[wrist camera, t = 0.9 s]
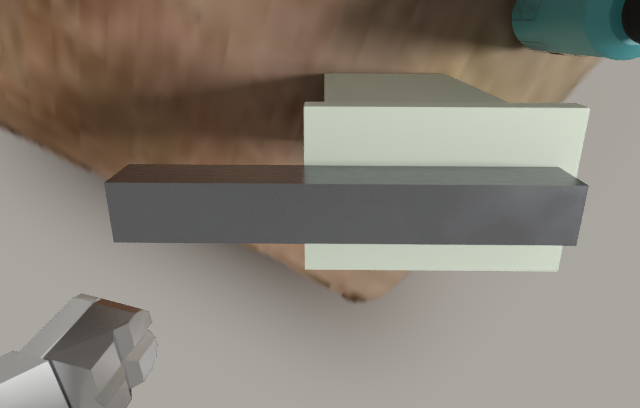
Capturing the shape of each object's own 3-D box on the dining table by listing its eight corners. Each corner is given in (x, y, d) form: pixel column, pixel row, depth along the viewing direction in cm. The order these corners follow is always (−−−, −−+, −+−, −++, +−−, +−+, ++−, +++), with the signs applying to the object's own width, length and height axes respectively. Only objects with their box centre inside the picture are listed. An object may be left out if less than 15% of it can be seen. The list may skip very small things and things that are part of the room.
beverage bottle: (527, 65, 48) (657, 93, 29) (488, 11, 46) (599, 5, 28) (585, 17, 46) (761, 15, 28) (546, -40, 45) (706, -83, 26)
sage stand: (314, 151, 51) (305, 269, 27) (314, 62, 48) (303, 106, 24) (447, 152, 51) (557, 271, 27) (455, 63, 48) (590, 107, 24)
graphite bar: (136, 218, 26) (113, 242, 23) (129, 164, 25) (104, 182, 22) (548, 221, 26) (575, 245, 23) (558, 166, 25) (588, 185, 22)
